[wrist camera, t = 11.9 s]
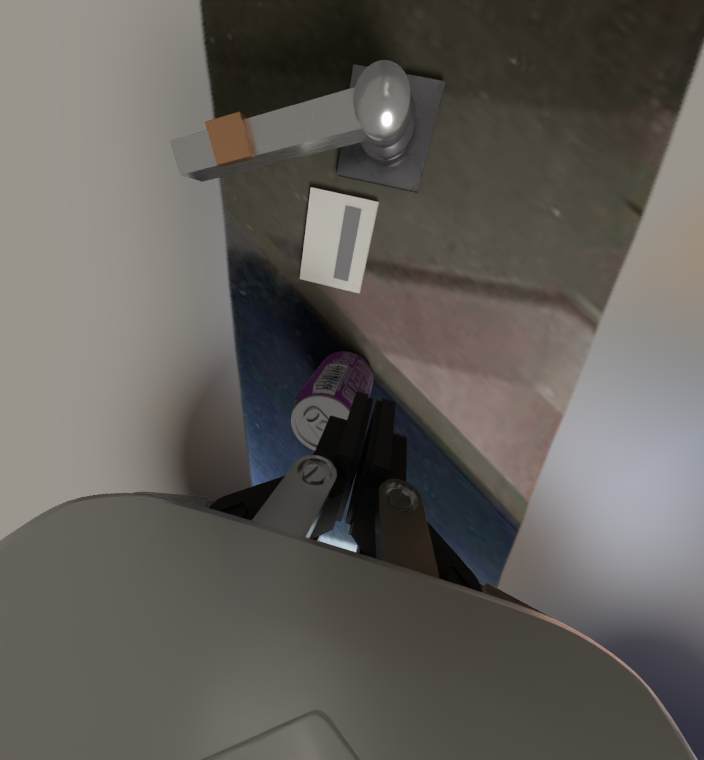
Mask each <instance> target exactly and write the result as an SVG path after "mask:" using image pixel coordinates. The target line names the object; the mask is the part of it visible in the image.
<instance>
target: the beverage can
mask: <svg viewBox="0 0 704 760" xmlns="http://www.w3.org/2000/svg"><path fill="white" fill-rule="evenodd" d="M372 386H373V373H372V370H371V367H370V366H369V364H368V363H367V362H366V361H365V360H364V359H363V358H362V357H361V356H359V355H357V354H355V353H352V352H348V351H339V352H335V353H332V354H330V355H329V356H327V357H326V358H325V359H324V360H323V361H322V363H321V364H320V366H319V367H318V368H317V370H316V371H315V372H314V374H313V375H312V376H311V378H310V379H309V380H308V382H307V383H306V385H305V386H304V387H303V389H302V390H301V391H300V393H299V394H298V396H297V397H296V399H295V402H294V406H293V412H292V416H291V425H292V429H293V431H294V433H295V435H296V437H297V438H298V439H299V440H300V441H301V442H302V443H303V444H304V445H305V446H307V447H309V448H310V449H313V450H316V447H317V445H318V443H319V440H320V438H321V436H322V433H323V431H324V429H325V426H326V424H327V422H328V419H329V417H330V416H335V417H338V418H342V419H345V420H347V419H348V416H349V413H350V410H351V407H352V403H353V400H354V397H355V394H356V391H359V392H362V393H366V394H369V397H370V393H371V389H372ZM369 397H368V398H369Z"/></svg>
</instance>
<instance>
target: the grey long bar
mask: <svg viewBox="0 0 704 760" xmlns="http://www.w3.org/2000/svg"><path fill="white" fill-rule="evenodd" d="M409 120H410V85H409V81H408V78H407V76H406V74H405V72H404V71H403V69H402V68H401V67H400V66H399V65H398V64H396V63H394V62H392V61H389V60H380V61H377V62H374V63H372V64H371V65H369V66H368V67H367V68H366V69H365V70H364V71H363V72H362V74H361V75H360V77H359V79H358V81H357V83H356V86H355V87H354V88H351V89H347V90H344V91H340V92H337V93H333V94H330V95H326V96H323V97H320V98H316V99H313V100H309V101H306V102H302V103H299V104H295V105H292V106H289V107H285V108H282V109H278V110H275V111H271V112H268V113H264V114H261V115H257V116H254V117H251V118H247V119H246V118H245V115H243V114H242V113H241V112H237V113H233V114H230V115H226V116H223V117H220V118H216V119H213V120H210V121H206V122H205V123H206V127H207V130H206V131H202V132H199V133H196V134H192V135H189V136H185V137H182V138H179V139H175V140H171V141H170V143H171V146H172V149H173V152H174V155H175V159H176V162H177V165H178V168H179V171H180V175H183V176H186V177H189V178H192V179H196V180H199V181H202V182H203V181H207V180H211V179H214V178H219V177H223V176H227V175H231V174H235V173H239V172H243V171H247V170H251V169H255V168H259V167H263V166H267V165H271V164H275V163H279V162H283V161H287V160H291V159H295V158H299V157H303V156H307V155H311V154H315V153H319V152H324V151H328V150H332V149H336V148H340V147H344V146H348V145H352V144H356V143H360V142H364V141H368V142H369V143H370V144H371V145H373V146H375V147H378V148H388V147H391V146H393V145H395V144H396V143H397V142H398V141H399V140H400V139H401V138H402V137H403V135H404V134H405V132H406V130H407V128H408V124H409Z"/></svg>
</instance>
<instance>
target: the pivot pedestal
mask: <svg viewBox="0 0 704 760" xmlns="http://www.w3.org/2000/svg"><path fill="white" fill-rule="evenodd" d="M366 68H367V67H366V66H361V65H355V64H353V70H352V77H351V84H350V89H351V88H354V87H355V86H356V83H357V81H358V79H359V77H360V75H361V74H362V72H363V71H364V70H365V69H366ZM406 76H407V78H408V81H409V85H410V120H409V124H408V128H407V130H406V132H405V134H404V135H403V137H402V138H401V139H400V140H399V141H398V142H397V143H396V144H395V145H393V146H391V147H388V148H378V147H375V146H373V145H371V144H370V143H369V142H368V141H364V142H360V143H356V144H352V145H348V146H344V147H341V150H340V157H339V163H338V170H337V175H338V176H341V177H346V178H350V179H355V180H360V181H364V182H369V183H374V184H378V185H383V186H388V187H392V188H397V189H402V190H406V191H411V192H416V193H417V192H418V188H419V185H420V181H421V177H422V173H423V169H424V165H425V161H426V157H427V153H428V149H429V145H430V142H431V138H432V134H433V130H434V126H435V122H436V118H437V114H438V110H439V106H440V102H441V99H442V95H443V91H444V87H445V83H446V81H441V80H435V79H430V78H425V77H419V76H414V75H409V74H406Z"/></svg>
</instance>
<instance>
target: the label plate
mask: <svg viewBox="0 0 704 760" xmlns="http://www.w3.org/2000/svg"><path fill="white" fill-rule="evenodd" d="M378 205H379V202H376V201H372V200H367V199H363V198H358V197H353V196H349V195H344V194H340V193H335V192H331V191H326V190H321V189H317V188H312V187H311V189H310V197H309V205H308V213H307V222H306V230H305V238H304V247H303V255H302V263H301V271H300V279H302V280H306V281H310V282H314V283H318V284H322V285H326V286H331V287H335V288H339V289H343V290H347V291H351V292H356V293H360V290H361V286H362V281H363V276H364V271H365V267H366V262H367V257H368V252H369V247H370V243H371V238H372V233H373V228H374V224H375V219H376V214H377V209H378Z"/></svg>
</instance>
